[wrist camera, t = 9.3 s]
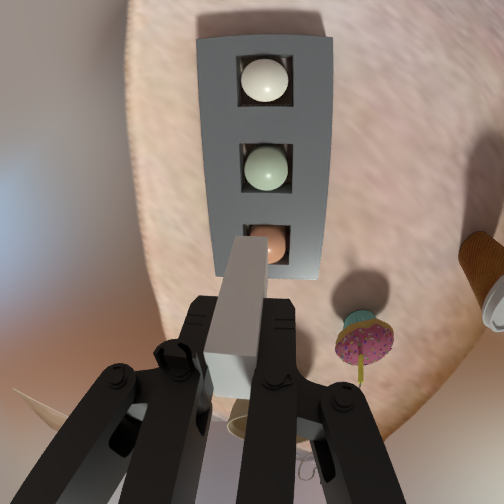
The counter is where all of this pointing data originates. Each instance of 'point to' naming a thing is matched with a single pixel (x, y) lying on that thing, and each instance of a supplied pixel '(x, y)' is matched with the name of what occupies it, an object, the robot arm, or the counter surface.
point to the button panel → (267, 131)
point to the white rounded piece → (264, 80)
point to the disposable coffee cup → (485, 276)
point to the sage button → (266, 166)
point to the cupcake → (363, 340)
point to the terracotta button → (271, 239)
